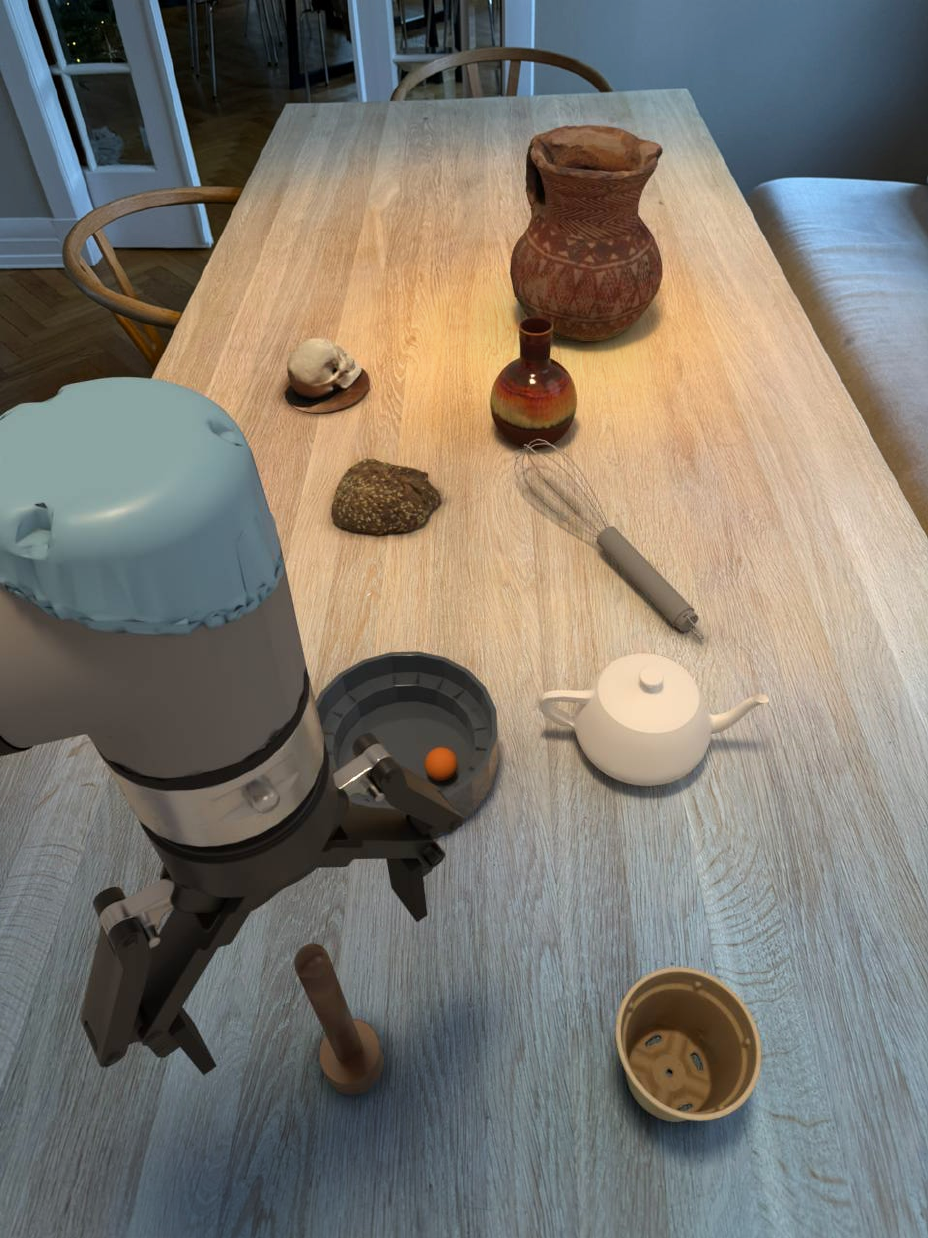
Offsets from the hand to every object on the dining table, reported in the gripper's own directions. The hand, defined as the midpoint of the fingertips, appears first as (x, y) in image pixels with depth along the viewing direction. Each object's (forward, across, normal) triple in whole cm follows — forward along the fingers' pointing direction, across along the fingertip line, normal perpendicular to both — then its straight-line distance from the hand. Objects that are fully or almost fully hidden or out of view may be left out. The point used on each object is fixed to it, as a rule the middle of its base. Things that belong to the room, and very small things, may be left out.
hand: (309, 971), depth 50 cm
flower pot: (+20, +19, -14) cm, 31 cm away
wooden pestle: (+20, +1, 0) cm, 21 cm away
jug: (+20, +85, +69) cm, 111 cm away
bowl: (+20, +19, +20) cm, 34 cm away
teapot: (+20, +38, +8) cm, 43 cm away
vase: (+20, +61, +52) cm, 82 cm away
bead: (+18, +20, +16) cm, 32 cm away
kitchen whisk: (+20, +53, +30) cm, 64 cm away
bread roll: (+20, +38, +52) cm, 67 cm away
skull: (+20, +45, +78) cm, 92 cm away
